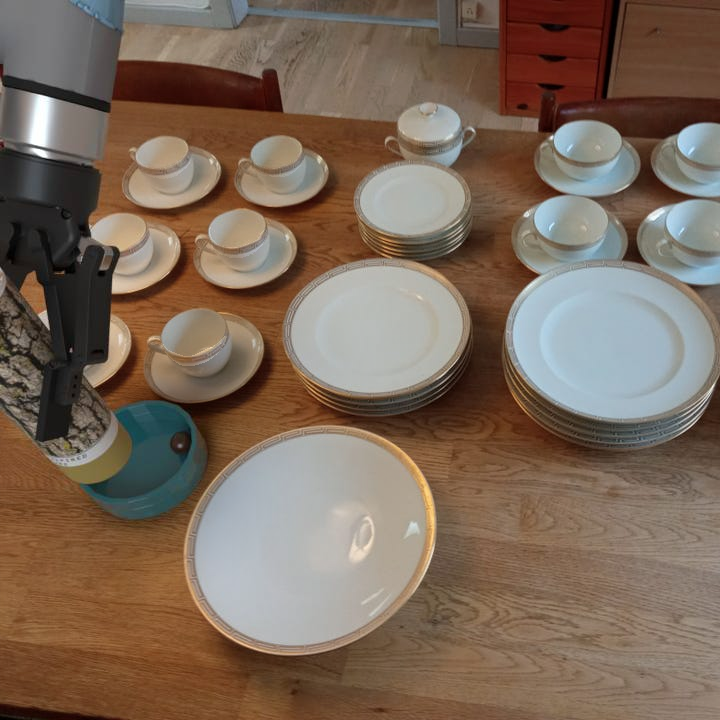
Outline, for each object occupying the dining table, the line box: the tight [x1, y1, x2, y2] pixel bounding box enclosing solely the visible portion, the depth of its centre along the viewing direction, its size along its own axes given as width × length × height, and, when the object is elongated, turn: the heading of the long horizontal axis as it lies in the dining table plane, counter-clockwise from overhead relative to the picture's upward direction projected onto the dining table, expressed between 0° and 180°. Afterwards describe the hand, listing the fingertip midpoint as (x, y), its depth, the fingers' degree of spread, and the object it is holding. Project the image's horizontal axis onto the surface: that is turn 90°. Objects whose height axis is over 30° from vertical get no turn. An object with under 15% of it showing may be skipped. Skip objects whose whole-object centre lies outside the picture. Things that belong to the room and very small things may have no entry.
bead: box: [170, 431, 192, 455], centre depth 91 cm, size 3×3×3 cm
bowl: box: [78, 400, 209, 520], centre depth 90 cm, size 14×14×4 cm
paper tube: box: [0, 268, 132, 484], centre depth 64 cm, size 7×7×25 cm
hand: (16, 424), depth 63 cm, fingers closed on paper tube, 7 cm apart
